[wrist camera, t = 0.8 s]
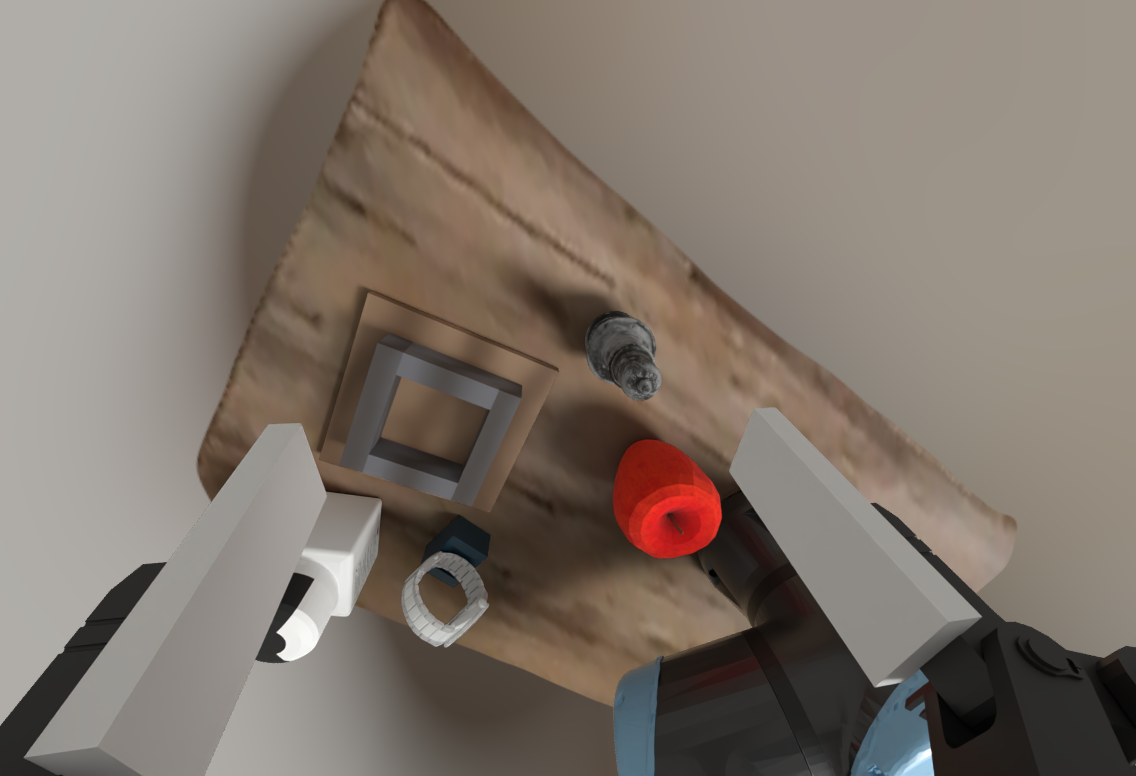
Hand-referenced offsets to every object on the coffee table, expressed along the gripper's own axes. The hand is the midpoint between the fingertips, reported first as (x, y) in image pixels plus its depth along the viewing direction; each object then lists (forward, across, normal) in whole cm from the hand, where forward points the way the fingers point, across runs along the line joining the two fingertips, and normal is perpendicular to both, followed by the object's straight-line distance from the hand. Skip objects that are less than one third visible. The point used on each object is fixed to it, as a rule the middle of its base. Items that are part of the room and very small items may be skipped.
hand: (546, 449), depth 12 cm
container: (+22, +18, +28) cm, 40 cm away
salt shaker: (+23, -9, +8) cm, 26 cm away
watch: (+20, +6, +31) cm, 37 cm away
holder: (+23, +7, +15) cm, 28 cm away
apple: (+20, -14, +20) cm, 32 cm away
